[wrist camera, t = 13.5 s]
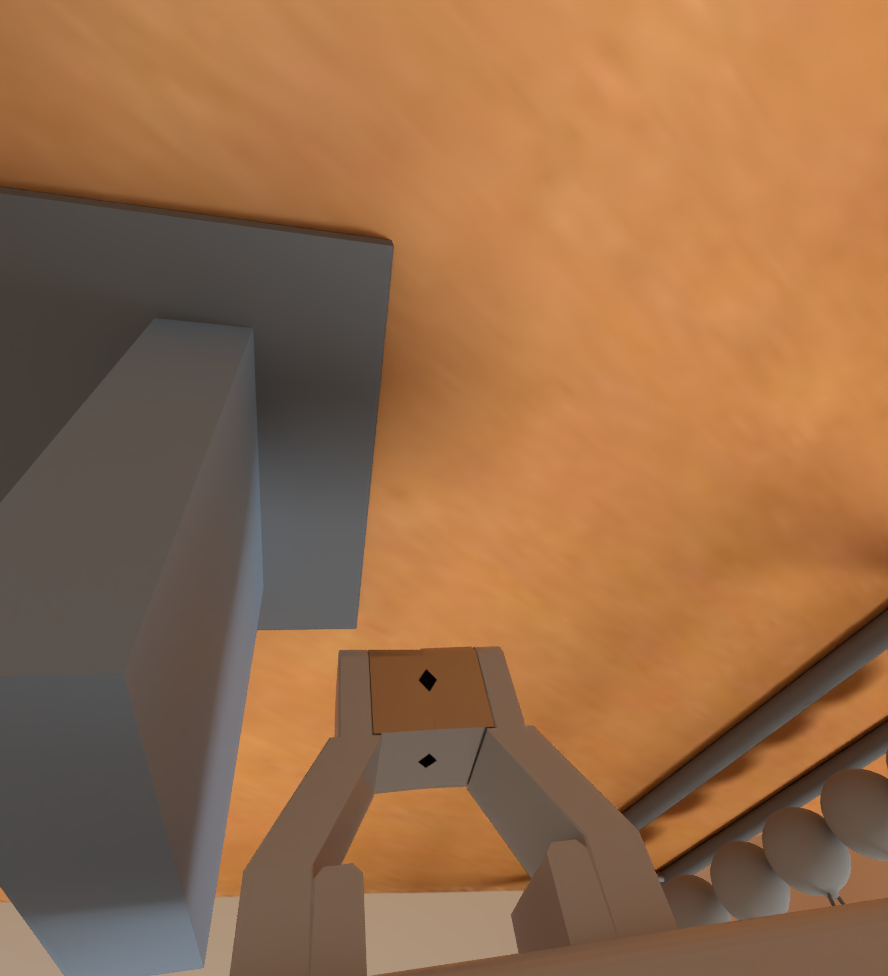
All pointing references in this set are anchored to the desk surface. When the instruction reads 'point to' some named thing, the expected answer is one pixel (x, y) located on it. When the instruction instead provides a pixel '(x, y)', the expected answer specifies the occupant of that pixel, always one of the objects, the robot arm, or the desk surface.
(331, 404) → the mat
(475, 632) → the desk surface
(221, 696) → the tile
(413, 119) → the desk surface
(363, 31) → the desk surface
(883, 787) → the newton's cradle
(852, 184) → the desk surface
